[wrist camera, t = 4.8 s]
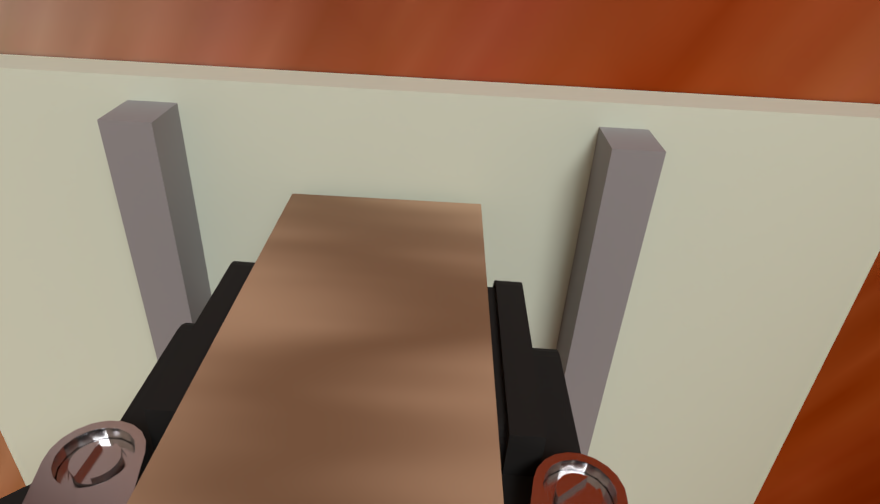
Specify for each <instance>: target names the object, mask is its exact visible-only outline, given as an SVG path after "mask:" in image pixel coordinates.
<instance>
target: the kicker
mask: <svg viewBox="0 0 880 504" xmlns="http://www.w3.org/2000/svg"><path fill="white" fill-rule="evenodd" d="M127 504H504V499H503V486H502V473H501V460H500V447H499V434H498V420H497V407H496V394H495V381H494V368H493V355H492V342H491V329H490V315H489V302H488V289H487V276H486V263H485V250H484V237H483V224H482V210H481V204H471V203H453V202H435V201H418V200H400V199H382V198H364V197H346V196H328V195H310V194H292V195H291V197H290V199H289V201H288V203H287V204H286V206H285V208H284V210H283V212H282V214H281V216H280V217H279V219H278V221H277V223H276V225H275V227H274V229H273V231H272V232H271V234H270V236H269V238H268V240H267V242H266V244H265V246H264V247H263V249H262V251H261V253H260V255H259V257H258V259H257V261H256V262H255V264H254V266H253V268H252V270H251V272H250V274H249V276H248V277H247V279H246V281H245V283H244V285H243V287H242V289H241V290H240V292H239V294H238V296H237V298H236V300H235V302H234V304H233V305H232V307H231V309H230V311H229V313H228V315H227V317H226V319H225V320H224V322H223V324H222V326H221V328H220V330H219V332H218V334H217V335H216V337H215V339H214V341H213V343H212V345H211V347H210V349H209V350H208V352H207V354H206V356H205V358H204V360H203V362H202V363H201V365H200V367H199V369H198V371H197V373H196V375H195V377H194V378H193V380H192V382H191V384H190V386H189V388H188V390H187V392H186V393H185V395H184V397H183V399H182V401H181V403H180V405H179V407H178V408H177V410H176V412H175V414H174V416H173V418H172V420H171V422H170V423H169V425H168V427H167V429H166V431H165V433H164V435H163V436H162V438H161V440H160V442H159V444H158V446H157V448H156V450H155V451H154V453H153V455H152V457H151V459H150V461H149V463H148V465H147V466H146V468H145V470H144V472H143V474H142V476H141V478H140V480H139V481H138V483H137V485H136V487H135V489H134V491H133V493H132V494H131V496H130V498H129V500H128V502H127Z"/></svg>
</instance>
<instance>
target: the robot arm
mask: <svg viewBox="0 0 880 504" xmlns="http://www.w3.org/2000/svg"><path fill="white" fill-rule="evenodd" d="M254 264H255V262H242V261H233V262H232V263H231V264H230V265H229V267H228V269H227V271H226V272H225V274H224V276H223V277H222V279H221V281H220V282H219V284H218V286H217V287H216V289H215V291H214V292H213V294H212V296H211V297H210V299H209V301H208V302H207V304H206V306H205V307H204V309H203V311H202V312H201V314H200V316H199V317H198V319H197V321H196V322H195V323H184V324H182V325H181V326H180V327H179V328H178V329H177V331H176V333H175V334H174V336H173V337H172V339H171V340H170V342H169V344H168V345H167V347H166V348H165V350H164V352H163V353H162V355H161V356H160V358H159V360H158V361H157V363H156V364H155V366H154V367H153V369H152V371H151V372H150V374H149V375H148V377H147V379H146V380H145V382H144V383H143V385H142V387H141V388H140V390H139V391H138V393H137V394H136V396H135V398H134V399H133V401H132V402H131V404H130V406H129V407H128V409H127V410H126V412H125V414H124V415H123V417H122V418H121V420H120V421H103V422H97V423H92V424H89V425H86V426H84V427H81V428H79V429H76V430H74V431H73V432H71V433H69V434H68V435H66V436H64V437H63V438H61V439H60V440H59V441H58V442H57V443H56V444H55V445H54V446H53V447H51V448H50V450H49V451H48V453H47V454H46V456H45V457H44V459H43V460H42V462H41V464H40V466H39V468H38V471H37V473H36V475H35V477H34V479H33V481H32V484H30V485H28V486H26V487H23V488H21V489H19V490H17V491H15V492H13V493H11V494H9V495H7V496H5V497H3V498H1V499H0V504H127V502H128V500H129V498H130V496H131V494H132V493H133V491H134V489H135V487H136V485H137V483H138V481H139V480H140V478H141V476H142V474H143V472H144V470H145V468H146V466H147V465H148V463H149V461H150V459H151V457H152V455H153V453H154V451H155V450H156V448H157V446H158V444H159V442H160V440H161V438H162V436H163V435H164V433H165V431H166V429H167V427H168V425H169V423H170V422H171V420H172V418H173V416H174V414H175V412H176V410H177V408H178V407H179V405H180V403H181V401H182V399H183V397H184V395H185V393H186V392H187V390H188V388H189V386H190V384H191V382H192V380H193V378H194V377H195V375H196V373H197V371H198V369H199V367H200V365H201V363H202V362H203V360H204V358H205V356H206V354H207V352H208V350H209V349H210V347H211V345H212V343H213V341H214V339H215V337H216V335H217V334H218V332H219V330H220V328H221V326H222V324H223V322H224V320H225V319H226V317H227V315H228V313H229V311H230V309H231V307H232V305H233V304H234V302H235V300H236V298H237V296H238V294H239V292H240V290H241V289H242V287H243V285H244V283H245V281H246V279H247V277H248V276H249V274H250V272H251V270H252V268H253V266H254ZM487 289H488V302H489V315H490V329H491V342H492V355H493V368H494V381H495V394H496V407H497V420H498V434H499V447H500V460H501V473H502V486H503V499H504V504H628V500H627V495H626V491H625V488H624V486H623V484H622V483H621V481H620V479H619V477H618V476H617V475H616V474H615V473H614V472H613V471H612V470H611V469H610V468H609V467H608V466H606V465H605V464H603V463H602V462H600V461H598V460H597V459H595V458H592V457H590V456H587V455H584V454H581V451H580V446H579V442H578V437H577V432H576V428H575V423H574V418H573V414H572V409H571V404H570V400H569V395H568V390H567V386H566V381H565V376H564V372H563V367H562V362H561V358H560V354H559V352H558V350H557V349H543V348H532V341H531V335H530V329H529V322H528V316H527V310H526V303H525V297H524V291H523V285H522V283H521V282H512V281H499V280H495V281H494V283H493V287H487Z"/></svg>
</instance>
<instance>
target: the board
mask: <svg viewBox="0 0 880 504" xmlns="http://www.w3.org/2000/svg"><path fill="white" fill-rule="evenodd" d="M292 194H310V195H328V196H346V197H364V198H382V199H400V200H418V201H435V202H453V203H471V204H481V210H482V224H483V237H484V250H485V263H486V276H487V287H493V283H494V281H495V280H499V281H512V282H521V283H522V285H523V291H524V297H525V303H526V310H527V316H528V322H529V329H530V335H531V341H532V348H543V349H557V350H558V352H559V354H560V358H561V362H562V367H563V372H564V376H565V381H566V386H567V390H568V395H569V400H570V404H571V409H572V414H573V418H574V423H575V428H576V432H577V437H578V442H579V446H580V451H581V454H584V455H587V456H590V457H592V458H595V459H597V460H598V461H600V462H602V463H603V464H605V465H606V466H608V467H609V468H610V469H611V470H612V471H613V472H614V473H615V474H616V475H617V476H618V477H619V479H620V481H621V483H622V484H623V486H624V488H625V491H626V495H627V500H628V504H754V502H755V500H756V497H757V495H758V493H759V491H760V489H761V487H762V485H763V483H764V481H765V479H766V477H767V475H768V473H769V471H770V469H771V467H772V465H773V463H774V461H775V459H776V457H777V455H778V453H779V451H780V449H781V447H782V445H783V443H784V441H785V439H786V437H787V435H788V433H789V431H790V429H791V427H792V425H793V423H794V421H795V419H796V417H797V415H798V413H799V411H800V409H801V407H802V405H803V403H804V401H805V399H806V397H807V395H808V393H809V391H810V389H811V387H812V385H813V383H814V381H815V379H816V377H817V375H818V373H819V371H820V369H821V367H822V365H823V363H824V361H825V359H826V357H827V355H828V353H829V351H830V349H831V347H832V345H833V343H834V341H835V339H836V337H837V335H838V333H839V331H840V329H841V327H842V325H843V323H844V321H845V319H846V317H847V315H848V313H849V311H850V309H851V307H852V305H853V303H854V301H855V299H856V297H857V295H858V293H859V291H860V289H861V287H862V285H863V283H864V281H865V279H866V277H867V275H868V273H869V271H870V269H871V267H872V265H873V263H874V261H875V259H876V257H877V255H878V253H879V251H880V104H866V103H849V102H831V101H814V100H796V99H779V98H761V97H744V96H726V95H709V94H691V93H674V92H656V91H639V90H621V89H604V88H586V87H569V86H551V85H534V84H516V83H499V82H481V81H464V80H446V79H429V78H411V77H394V76H376V75H359V74H341V73H324V72H306V71H289V70H271V69H254V68H236V67H219V66H201V65H184V64H166V63H149V62H131V61H114V60H96V59H79V58H61V57H44V56H26V55H9V54H0V430H1V433H2V435H3V437H4V439H5V441H6V443H7V445H8V448H9V450H10V452H11V454H12V456H13V458H14V461H15V463H16V465H17V467H18V469H19V471H20V473H21V476H22V478H23V480H24V482H25V484H26V486H28V485H30V484H32V481H33V479H34V477H35V475H36V473H37V471H38V468H39V466H40V464H41V462H42V460H43V459H44V457H45V456H46V454H47V453H48V451H49V450H50V448H51V447H53V446H54V445H55V444H56V443H57V442H58V441H59V440H60V439H61V438H63V437H64V436H66V435H68V434H69V433H71V432H73V431H74V430H76V429H79V428H81V427H84V426H86V425H89V424H92V423H97V422H103V421H120V420H121V418H122V417H123V415H124V414H125V412H126V410H127V409H128V407H129V406H130V404H131V402H132V401H133V399H134V398H135V396H136V394H137V393H138V391H139V390H140V388H141V387H142V385H143V383H144V382H145V380H146V379H147V377H148V375H149V374H150V372H151V371H152V369H153V367H154V366H155V364H156V363H157V361H158V360H159V358H160V356H161V355H162V353H163V352H164V350H165V348H166V347H167V345H168V344H169V342H170V340H171V339H172V337H173V336H174V334H175V333H176V331H177V329H178V328H179V327H180V326H181V325H182V324H184V323H195V322H196V321H197V319H198V317H199V316H200V314H201V312H202V311H203V309H204V307H205V306H206V304H207V302H208V301H209V299H210V297H211V296H212V294H213V292H214V291H215V289H216V287H217V286H218V284H219V282H220V281H221V279H222V277H223V276H224V274H225V272H226V271H227V269H228V267H229V265H230V264H231V263H232V262H233V261H242V262H256V261H257V259H258V257H259V255H260V253H261V251H262V249H263V247H264V246H265V244H266V242H267V240H268V238H269V236H270V234H271V232H272V231H273V229H274V227H275V225H276V223H277V221H278V219H279V217H280V216H281V214H282V212H283V210H284V208H285V206H286V204H287V203H288V201H289V199H290V197H291V195H292Z"/></svg>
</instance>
